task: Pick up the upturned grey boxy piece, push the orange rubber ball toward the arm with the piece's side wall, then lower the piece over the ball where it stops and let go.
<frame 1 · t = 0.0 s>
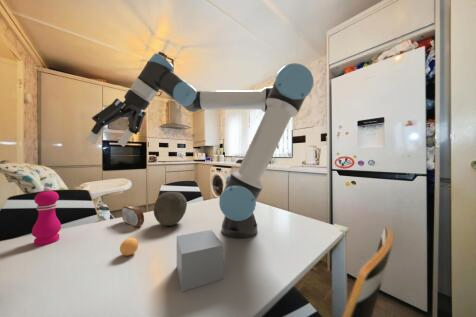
hand: (107, 143, 64), 36 cm above the table, tool tilted 35°, fingers open, 13 cm apart
ball: (129, 246, 56), on the table
grey boxy piece: (198, 272, 48), on the table
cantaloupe: (170, 224, 81), on the table
pepper mill: (47, 242, 64), on the table
tin: (132, 225, 80), on the table
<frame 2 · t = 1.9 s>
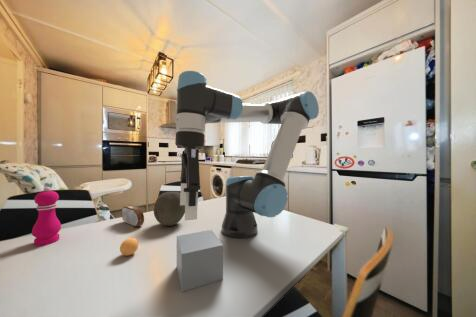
hand: (187, 211, 47), 17 cm above the table, tool pointing down, fingers open, 13 cm apart
nothing on the table moved.
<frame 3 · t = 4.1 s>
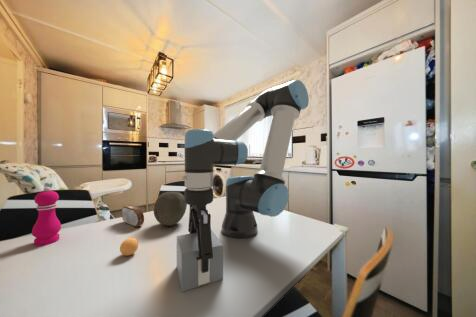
hand: (198, 269, 48), 1 cm above the table, tool pointing down, fingers closed on grey boxy piece, 10 cm apart
grey boxy piece: (198, 272, 48), on the table, touching gripper
everything else where it was.
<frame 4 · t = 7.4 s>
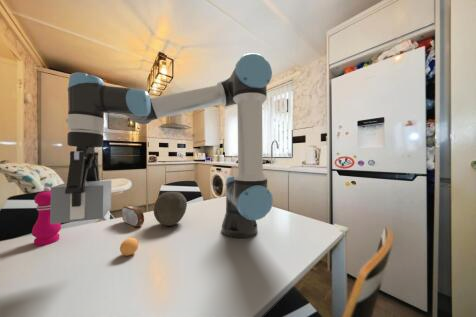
hand: (85, 212, 49), 16 cm above the table, tool pointing down, fingers closed on grey boxy piece, 10 cm apart
grey boxy piece: (84, 215, 49), point 15 cm above the table, touching gripper
everything else where it was.
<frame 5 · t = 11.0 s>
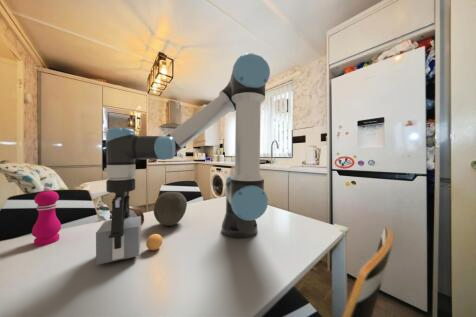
hand: (121, 249, 55), 2 cm above the table, tool pointing down, fingers closed on grey boxy piece, 10 cm apart
ball: (154, 241, 59), on the table
grey boxy piece: (121, 251, 55), point 1 cm above the table, touching gripper
everything else where it was.
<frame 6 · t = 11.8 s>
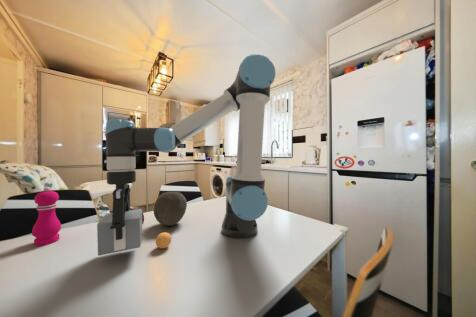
hand: (123, 241, 55), 5 cm above the table, tool pointing down, fingers closed on grey boxy piece, 10 cm apart
ball: (163, 240, 60), on the table
grey boxy piece: (122, 243, 55), point 4 cm above the table, touching gripper
everything else where it was.
when the fingers open (1 cm above the table, at t = 17.9 s): grey boxy piece stays where it is, on the table.
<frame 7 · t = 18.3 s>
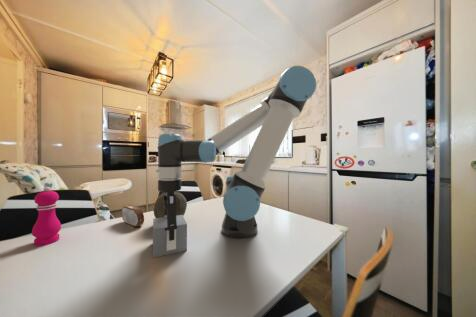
hand: (169, 240, 61), 2 cm above the table, tool pointing down, fingers open, 13 cm apart
grey boxy piece: (169, 246, 61), on the table
everything else where it was.
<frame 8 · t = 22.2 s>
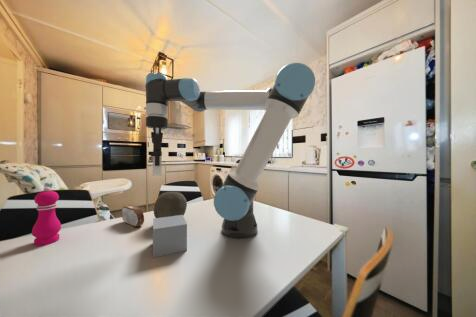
hand: (156, 173, 66), 25 cm above the table, tool pointing down, fingers open, 13 cm apart
nothing on the table moved.
at the end: ball 1.9 cm from the grey boxy piece (horizontally); grey boxy piece on the table; ball moved 10.0 cm from its start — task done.
